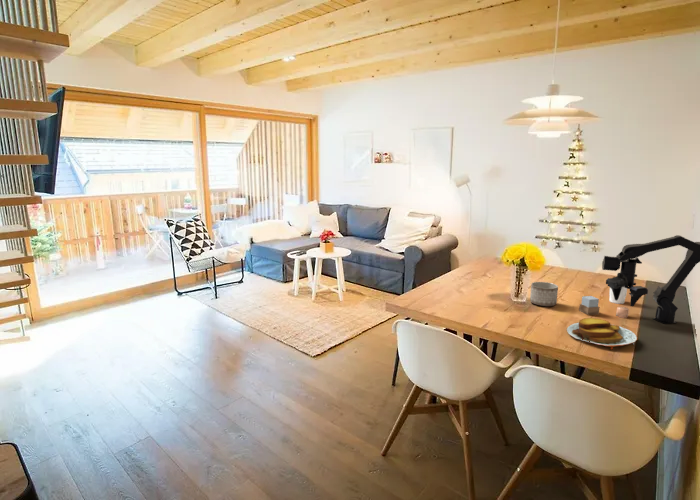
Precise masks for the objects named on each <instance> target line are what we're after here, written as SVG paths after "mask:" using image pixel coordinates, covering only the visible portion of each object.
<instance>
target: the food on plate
mask: <svg viewBox="0 0 700 500" xmlns="http://www.w3.org/2000/svg"><path fill="white" fill-rule="evenodd" d="M566 331H567V333H568V335H569V336H571V337H572V338H574V339H577V340H580V341H585V342H587V343H592V344H595V345H599V346H605V347H606V348H607V347H610V348H609V350H613V348H614V347H621V346H625V345H626V346H628V345H631V344H633V345H635V342H636V341H638V335H636V333H634V331H633V330H630V329H628V328H624V327H622V326H620V325H617V324H616V325H615V324H612V323H611V322H610V321H608V320H605V319H602V318H598V317H597V318H595V317H585V318H582V319H579V321H578V322H575V323H572V324H570V325H568V327H566ZM582 339H583V340H582ZM587 340H588V341H587ZM589 341H590V342H589Z"/></svg>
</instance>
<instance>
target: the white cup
mask: <svg viewBox="0 0 700 500" xmlns="http://www.w3.org/2000/svg"><path fill="white" fill-rule="evenodd" d="M627 292H628V289H627V288H625V287H622V289H621V292H620V295H619V298H618V300H615V298H614V294H613V291H612V289H611V288H610V287H609V299H608V301H609V302H610V303H611V304H612V303H613V304H618V305H621V304H622V305H623V304H625V301H626V298H627V294H628V293H627Z"/></svg>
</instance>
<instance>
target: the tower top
mask: <svg viewBox="0 0 700 500" xmlns="http://www.w3.org/2000/svg"><path fill="white" fill-rule="evenodd" d="M599 302H600V299H599V298H597V297H595V296H592V295H588V296H587V295H586V296H582V297H581V303H580V304H582V305H584V306H587V307H599Z"/></svg>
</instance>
